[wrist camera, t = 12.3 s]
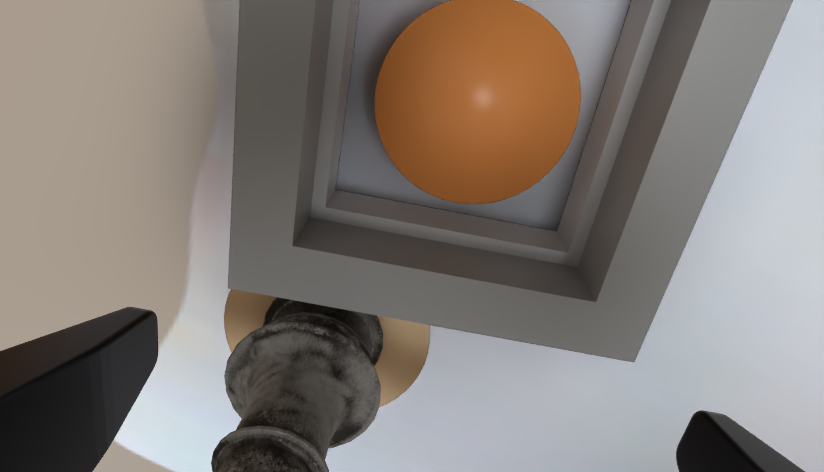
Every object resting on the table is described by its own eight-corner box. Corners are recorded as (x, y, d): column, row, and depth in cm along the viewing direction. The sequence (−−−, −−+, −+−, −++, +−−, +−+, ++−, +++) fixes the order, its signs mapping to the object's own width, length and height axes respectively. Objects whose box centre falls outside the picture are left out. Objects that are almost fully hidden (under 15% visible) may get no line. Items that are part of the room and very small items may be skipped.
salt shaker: (281, 253, 21) (101, 513, 10) (412, 310, 22) (377, 611, 11) (239, 359, 23) (54, 667, 12) (359, 408, 24) (285, 741, 13)
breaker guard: (597, 295, 22) (634, 362, 18) (268, 234, 21) (227, 288, 17) (742, -86, 16) (845, -119, 12) (299, -178, 16) (250, -243, 12)
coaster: (410, 421, 25) (409, 430, 25) (226, 388, 25) (220, 396, 24) (448, 257, 21) (448, 263, 21) (233, 216, 21) (227, 222, 21)
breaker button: (537, 200, 20) (547, 219, 18) (368, 168, 20) (361, 184, 18) (591, 17, 17) (609, 18, 15) (397, -21, 17) (392, -25, 15)
